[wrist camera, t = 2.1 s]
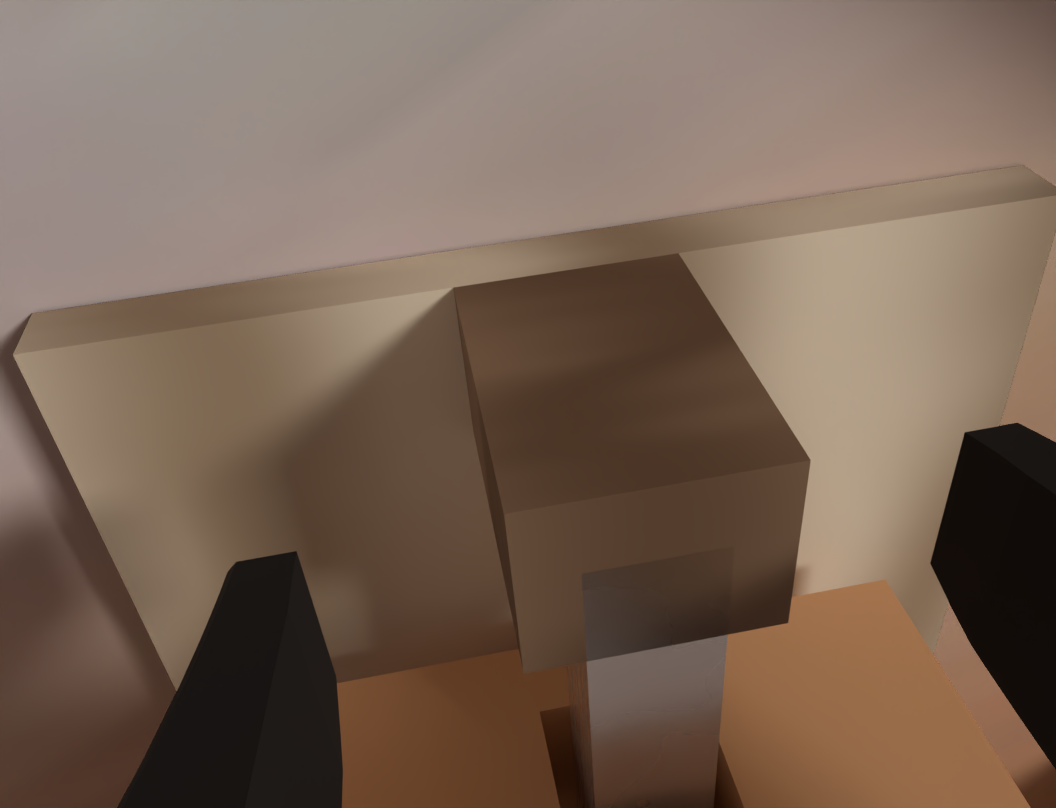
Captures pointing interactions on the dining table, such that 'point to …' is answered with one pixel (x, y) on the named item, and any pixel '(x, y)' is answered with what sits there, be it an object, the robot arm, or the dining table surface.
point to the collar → (745, 730)
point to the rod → (646, 712)
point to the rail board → (413, 488)
